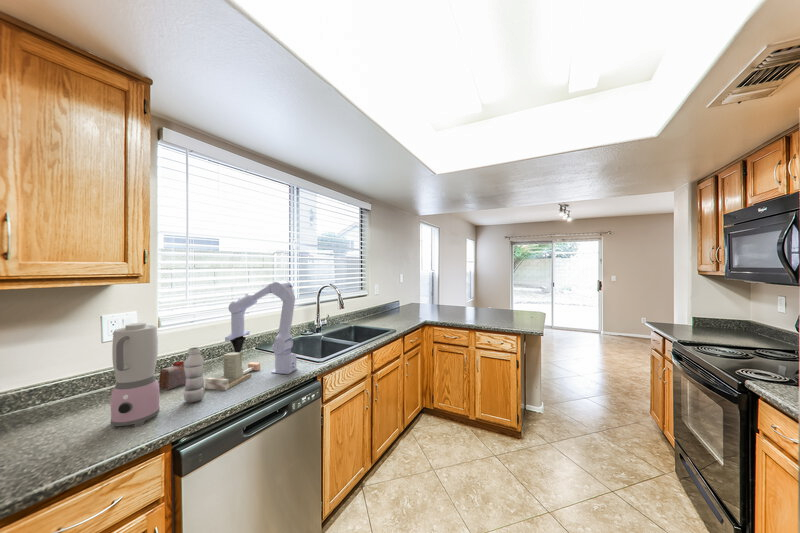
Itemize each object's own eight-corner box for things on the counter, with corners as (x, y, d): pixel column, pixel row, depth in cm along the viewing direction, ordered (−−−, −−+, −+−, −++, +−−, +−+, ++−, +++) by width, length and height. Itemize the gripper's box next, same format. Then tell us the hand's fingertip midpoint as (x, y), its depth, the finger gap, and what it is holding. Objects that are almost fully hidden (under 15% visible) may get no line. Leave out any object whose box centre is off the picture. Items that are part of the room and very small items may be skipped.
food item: (188, 377, 137) (188, 356, 137) (201, 379, 135) (201, 357, 135) (156, 388, 124) (156, 365, 124) (170, 391, 122) (170, 367, 122)
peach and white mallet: (260, 368, 147) (260, 360, 147) (244, 377, 136) (244, 368, 136) (251, 368, 148) (251, 360, 148) (234, 376, 137) (234, 367, 137)
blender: (125, 413, 103) (125, 322, 103) (166, 408, 106) (166, 320, 106) (92, 438, 88) (92, 331, 88) (142, 432, 91) (142, 328, 91)
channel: (251, 376, 137) (251, 368, 137) (225, 390, 122) (225, 380, 122) (232, 375, 139) (232, 366, 139) (205, 388, 124) (205, 378, 124)
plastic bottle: (194, 405, 109) (194, 351, 109) (179, 403, 110) (178, 350, 110) (208, 398, 115) (208, 346, 115) (194, 396, 116) (194, 345, 116)
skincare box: (242, 378, 135) (242, 352, 135) (236, 382, 130) (236, 355, 130) (229, 378, 135) (229, 351, 135) (222, 382, 131) (222, 354, 131)
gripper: (241, 322, 156) (241, 347, 156) (219, 327, 142) (219, 356, 142) (253, 322, 155) (253, 348, 155) (232, 328, 140) (232, 356, 140)
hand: (237, 352), depth 148 cm, fingers closed
